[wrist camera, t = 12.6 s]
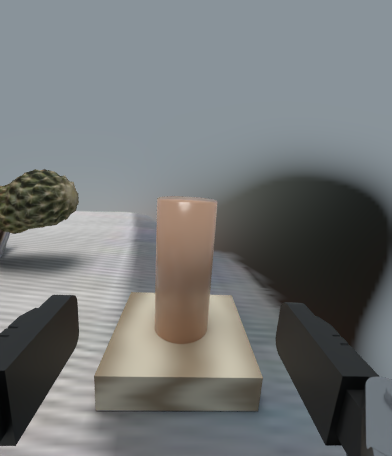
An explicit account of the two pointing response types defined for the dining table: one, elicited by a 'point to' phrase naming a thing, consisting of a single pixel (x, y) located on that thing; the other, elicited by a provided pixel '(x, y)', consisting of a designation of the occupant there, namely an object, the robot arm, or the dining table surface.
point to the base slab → (178, 364)
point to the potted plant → (35, 203)
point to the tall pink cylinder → (183, 267)
